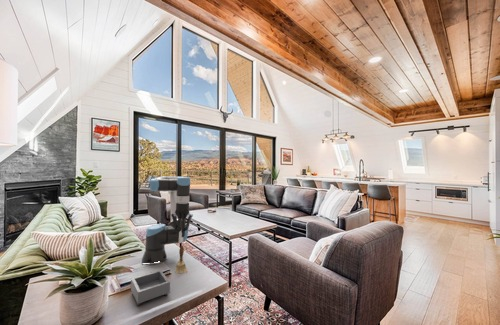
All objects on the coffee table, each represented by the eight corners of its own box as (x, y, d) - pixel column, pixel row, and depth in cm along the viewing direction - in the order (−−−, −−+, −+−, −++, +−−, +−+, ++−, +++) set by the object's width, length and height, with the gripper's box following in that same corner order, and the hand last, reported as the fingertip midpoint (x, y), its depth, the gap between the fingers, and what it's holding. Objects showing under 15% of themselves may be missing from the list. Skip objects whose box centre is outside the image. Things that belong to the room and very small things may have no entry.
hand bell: (172, 270, 127) (173, 244, 128) (186, 268, 131) (187, 242, 131) (174, 277, 120) (175, 249, 120) (189, 274, 124) (190, 247, 124)
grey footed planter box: (130, 292, 102) (131, 278, 102) (160, 283, 111) (160, 270, 112) (137, 308, 92) (138, 292, 92) (169, 296, 101) (170, 281, 101)
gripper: (169, 203, 122) (167, 243, 122) (190, 204, 121) (188, 245, 121) (175, 200, 130) (173, 239, 130) (195, 202, 128) (193, 240, 128)
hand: (180, 242), depth 125 cm, fingers closed
